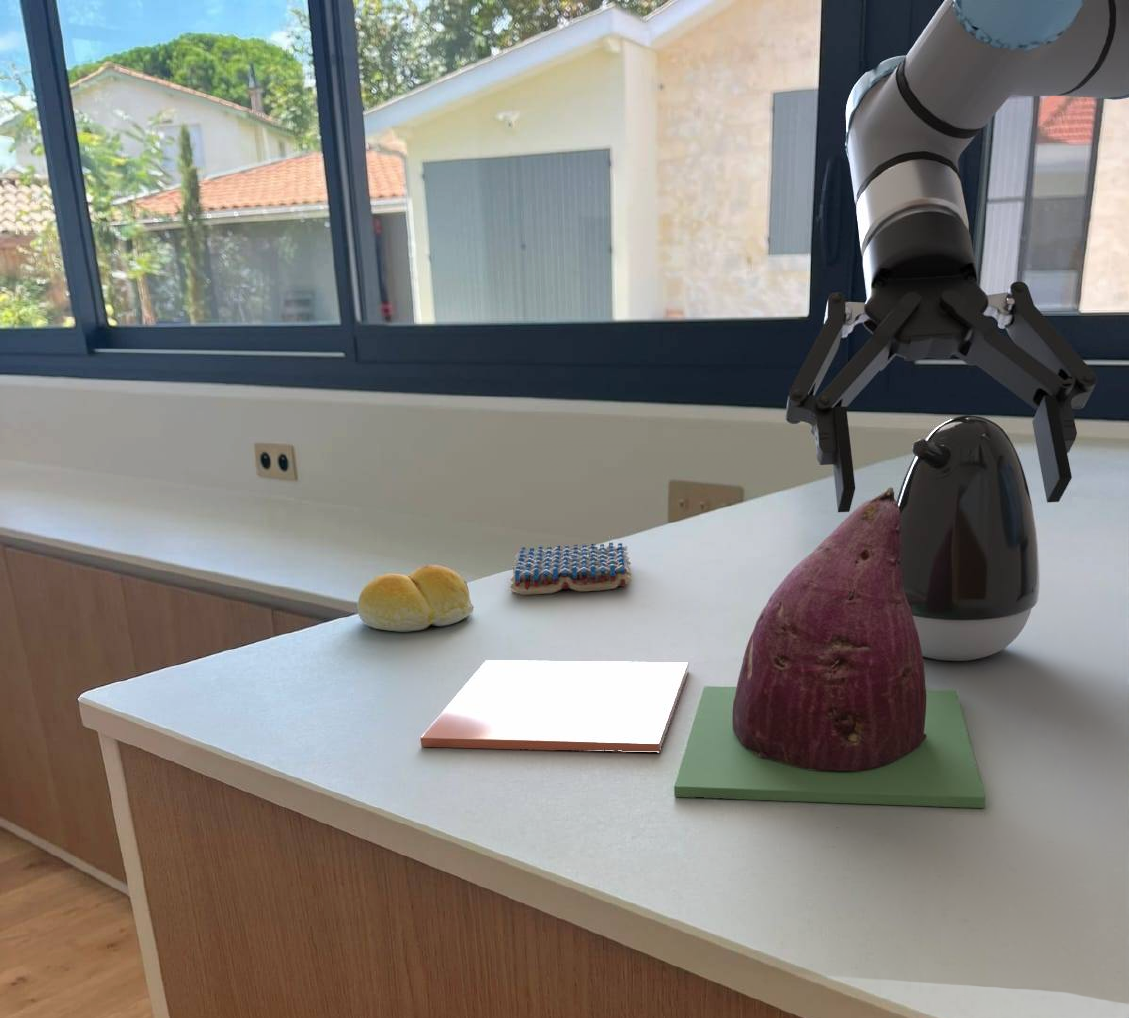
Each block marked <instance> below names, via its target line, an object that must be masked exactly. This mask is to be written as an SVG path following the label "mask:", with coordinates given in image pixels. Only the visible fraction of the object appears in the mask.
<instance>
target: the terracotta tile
mask: <svg viewBox="0 0 1129 1018" xmlns="http://www.w3.org/2000/svg"><path fill="white" fill-rule="evenodd" d="M689 668H690V667H689V663H688V662H659V661H657V662H655V661H654V662H647V661H633V662H632V661H568V660H567V661H562V660H561V661H560V660H558V661H555V660H551V661H550V660H485V661H484V662H483V663H482V664H481V665H480V667H479V668H478V669H477V670H476V671H475V673H474V674H473V675H472V676H471V677H470V678H469V680H468V681H467V682H466V683H465V685H463V687H462V688H461V689H460V690H459V692H458V693H457V694H456V695H455V696H454V698H453V699H451V700H450V702H449V704H447V706H446V707H445V708H444V709H443V711H441V713H440V714H439V715H438V716H437V717H436V718H435V720H433V722H432V723H431V724H430V726H429V727H428V728H427V729H426V730H425V732H424V733H423V734H422V735H421V736H420V739H419V740H420V745H421V747H423V748H449V749H450V748H452V749H453V748H455V749H486V750H487V749H491V750H492V749H493V750H520V749H522V750H524V749H528V750H527V751H555V750H572V751H571V752H574V751H573V750H579V751H578V752H582V751H581V750H587V751H586V752H589V751H588V750H604V751H605V750H614V751H618V750H622V751H660V748H661V746H662V747H663V745H662V743H663V744H664V742H663V740H664V741H665V739H664V737H665V738H666V736H665V734H666V732H667V733H668V731H667V730H669V728H670V725H671V722H670V720H671V721H672V719H673V717H674V714H673V713H675V711H674V710H676V708H675V706H676V707H677V705H678V702H677V700H678V701H679V699H680V696H681V693H682V691H681V690H683V688H682V687H684V685H685V681H686V679H687V676H688V673H689V670H690V669H689ZM683 684H684V685H683ZM676 704H677V705H676ZM671 718H672V719H671ZM669 724H670V725H669ZM668 727H669V728H668ZM666 735H667V734H666ZM533 749H534V750H533ZM661 749H662V748H661ZM660 752H661V751H660Z"/></svg>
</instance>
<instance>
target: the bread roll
mask: <svg viewBox="0 0 1129 1018" xmlns="http://www.w3.org/2000/svg"><path fill="white" fill-rule="evenodd" d="M356 607H357V614H358V616H359V618H360V620H361V621H362V623H363V624H365V625H366V626H368V627H370V628H373V629H375V630H382V631H389V632H390V631H391V632H396V633H397V632H399V633H400V632H402V633H407V632H414V631H416V632H417V631H418V632H419V631H423V630H426V629H427V628H428V627H430V626H431V625H432V626H435V627H445V626H449V625H453V624H456V623H459V622H460V621H462V620H464V619H466V618H467V617H469V616H470V615H471V614H472V613H473V612H474V607H475V606H474V604H472V601H471V598H470V589H469V586H468V583H467V581H465V579H463V578H462V577H461V576H460V574H458V573H457V572H456V571H455V570H453V569H451V568H448V567H446V566H442V565H437V564H436V565H435V564H428V565H423V566H421V567H418V568H417V569H416V570H414V571H412V572H411V573H410V574H408V575H405V574H400V573H395V572H394V573H384V574H381V575H379V576H376V577H375V578H373V579H372V580H370V581H369V582H368V583H367V584H366V585H365V586H364V587H363V588H362V590H361V592H360V594H359V597H358V601H357V606H356Z"/></svg>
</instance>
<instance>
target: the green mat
mask: <svg viewBox="0 0 1129 1018" xmlns="http://www.w3.org/2000/svg"><path fill="white" fill-rule="evenodd" d="M736 688H737V686H716V685H715V686H710V685H705V686H703V690H702V692H701V696H700V700H699V704H698V707H697V710H696V713H695V716H694V720H693V723H692V727H691V730H690V733H689V736H688V740H687V743H686V747H685V750H684V753H683V756H682V759H681V763H680V767H679V769H678V774H677V776H676V780H675V782H674V786H673V790H674V791H673V793H674V795H673V796H674V798H691V799H692V798H695V797H704V798H703V799H719V798H722V800H723V799H724V800H747V801H749V800H750V801H752V800H753V801H774V802H775V801H778V802H779V801H780V802H800V803H801V802H802V803H803V802H805V803H829V804H830V803H832V804H833V803H835V804H856V805H857V804H858V805H859V804H860V805H882V806H883V805H886V806H910V807H911V806H914V807H942V808H966V809H967V808H968V809H985V807H986V795H985V794H986V793H985V792H984V787H983V783H982V781H981V776H980V772H979V769H978V766H977V765H978V764H977V761H976V758H975V754H974V751H973V747H972V742H971V740H970V736H969V732H968V728H967V724H966V721H965V718H964V714H963V711H962V706H961V703H960V699H959V695H958V692H957V690H956V689H926V696H927V700H926V716H925V728H924V733H925V734H926V736H927V737H926V738H925V739H924V740H923V741H922V742H921V745H920V746H919V747H918V748H917V749H915V750H914V751H912V752H910V753H908V754H906V755H904V756H902V757H901V758H899V759H897V760H894V761H893V762H890V763H888V764H886V765H883V766H879V767H876V768H872V769H868V770H863V771H850V772H846V771H842V772H836V771H821V770H810V769H806V768H802V767H797V766H793V765H789V764H787V763H782V762H779V761H776V760H772V759H769V758H762V757H759V754H757V753H755V752H753V751H751V750H749V749H748V748H746V747H745V746H744V745H743V744H741V742H740V740H739V739H738V738H737V737H736V735H735V733H734V731H733V725H732V715H733V701H734V697H735V693H736ZM681 796H682V797H681Z"/></svg>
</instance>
